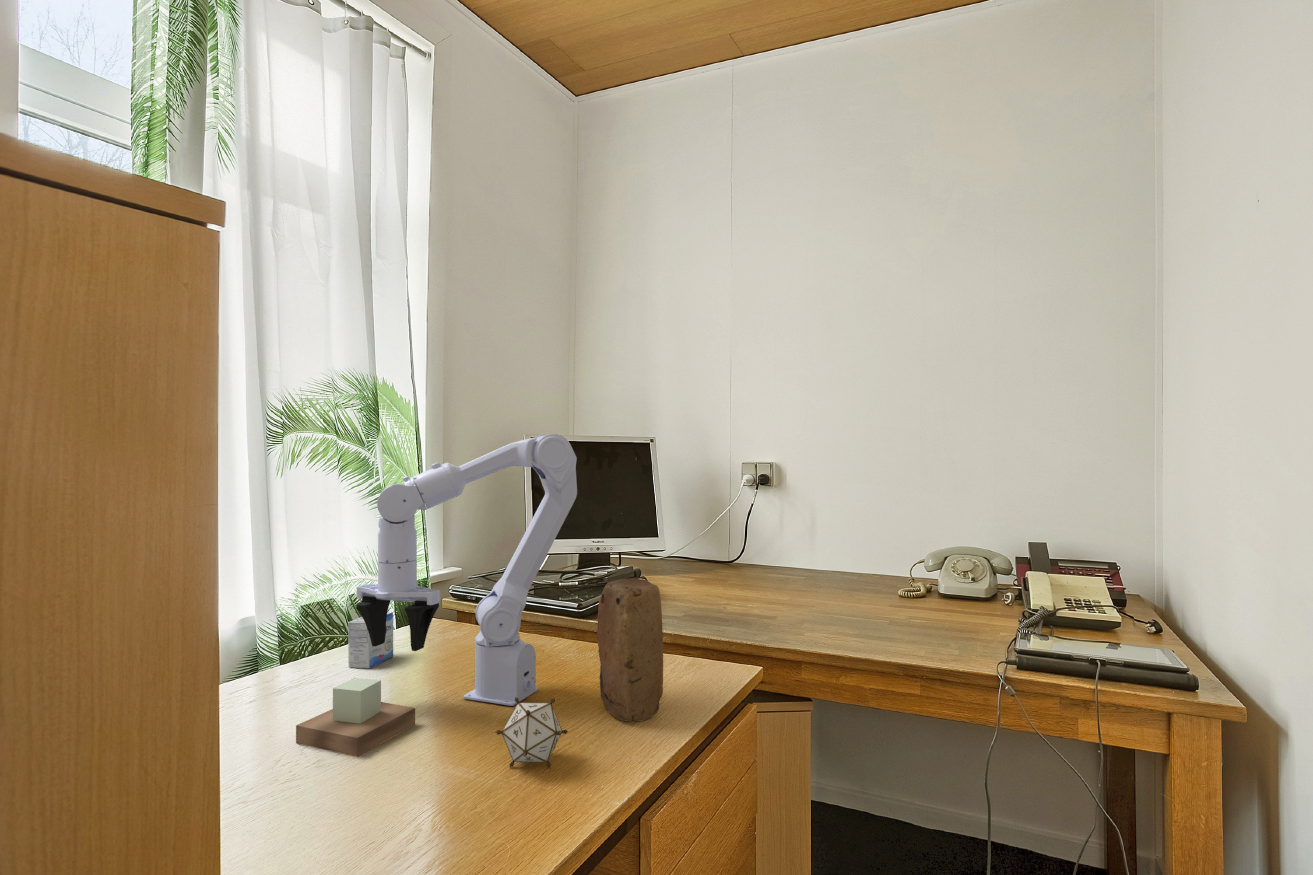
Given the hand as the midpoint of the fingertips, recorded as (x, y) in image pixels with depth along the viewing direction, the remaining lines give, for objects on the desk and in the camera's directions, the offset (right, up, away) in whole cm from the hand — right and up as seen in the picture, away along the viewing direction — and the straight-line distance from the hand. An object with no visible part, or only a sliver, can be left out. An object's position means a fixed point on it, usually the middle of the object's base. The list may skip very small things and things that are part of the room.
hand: (397, 646), depth 107 cm
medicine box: (-13, -10, +22) cm, 28 cm away
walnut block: (-2, -10, -10) cm, 14 cm away
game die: (+25, -9, -19) cm, 33 cm away
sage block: (-2, -7, -10) cm, 12 cm away
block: (+36, -10, -2) cm, 38 cm away
